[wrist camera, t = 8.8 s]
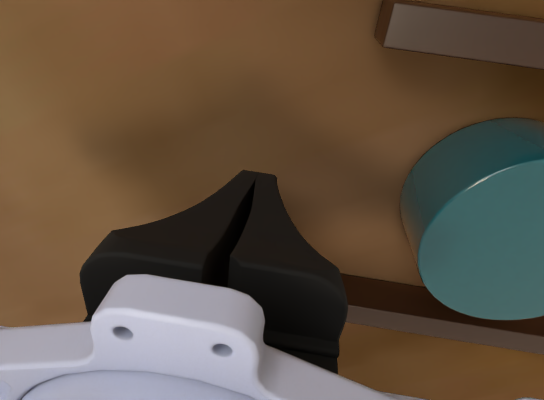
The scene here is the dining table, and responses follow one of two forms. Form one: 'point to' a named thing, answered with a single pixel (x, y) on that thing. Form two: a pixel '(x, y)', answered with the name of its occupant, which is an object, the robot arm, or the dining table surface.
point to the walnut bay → (469, 45)
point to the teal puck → (481, 219)
